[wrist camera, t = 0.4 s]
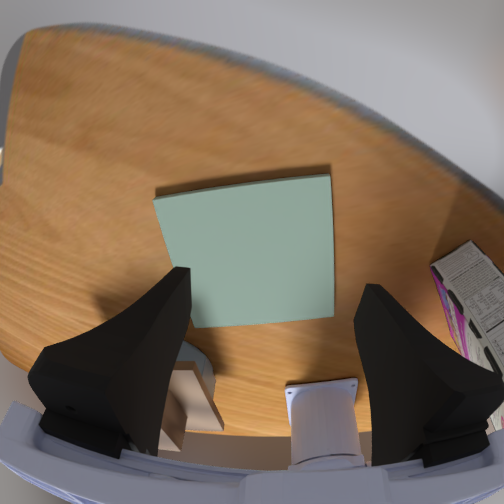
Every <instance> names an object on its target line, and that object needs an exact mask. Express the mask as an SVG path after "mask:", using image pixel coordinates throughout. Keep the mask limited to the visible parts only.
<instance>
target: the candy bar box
mask: <svg viewBox="0 0 504 504" xmlns="http://www.w3.org/2000/svg"><path fill="white" fill-rule="evenodd" d="M430 269H431V272H432V275H433V278H434V280H435V283H436V286H437V289H438V292H439V296H440V299H441V302H442V305H443V308H444V312H445V315H446V319H447V322H448V326H449V330H450V334H451V337H452V338H453V340H454V342H455V344H456V346H457V347H458V349H459V351H460V353H461V355H462V356H463V357H465V358H466V359H468V360H470V361H472V362H474V363H475V364H477V365H479V366H481V367H483V368H486V369H488V370H490V371H492V372H495V373H497V374H499V375H501V377H502V379H503V382H504V274H503V273H502V271H501V270H500V269H499V268H498V267H497V266H496V265H495V264H494V263H493V261H492V260H491V259H490V258H489V257H488V256H487V255H486V254H485V253H484V252H483V251H482V250H481V249H480V248H479V247H478V246H477V245H476V244H475V243H474V242H473V241H472V240H469V241H467V242H466V243H464V244H462V245H460V246H459V247H458V248H456V249H455V250H453V251H452V252H450V253H449V254H447V255H446V256H444V257H442V258H440V259H439V260H437V261H436V262H434V263H432V264H431V265H430ZM490 419H491V421H492V424H493V426H494V429H495V431H497V430H500V429H503V428H504V402H503V403H502V404H501V405H500V407H499V408H498V409H497V410H496V411H495V412H494V413H493V414H492V415H491V416H490Z"/></svg>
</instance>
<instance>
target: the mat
mask: <svg viewBox="0 0 504 504" xmlns="http://www.w3.org/2000/svg"><path fill="white" fill-rule="evenodd" d="M153 204H154V207H155V211H156V214H157V217H158V221H159V224H160V227H161V231H162V234H163V237H164V240H165V243H166V246H167V250H168V253H169V256H170V259H171V262H172V265H173V268H174V267H176V266H179V267H188V268H191V294H192V310H191V314H190V316H191V319H192V322H193V324H194V327H195V328H207V327H224V326H239V325H253V324H265V323H277V322H287V321H298V320H307V319H316V318H325V317H333V316H334V243H333V216H332V196H331V180H330V175H329V173H328V174H318V175H307V176H298V177H289V178H280V179H271V180H263V181H255V182H248V183H240V184H233V185H226V186H219V187H213V188H206V189H200V190H194V191H188V192H182V193H176V194H170V195H164V196H159V197H155V198H154V199H153Z"/></svg>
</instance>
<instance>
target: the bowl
mask: <svg viewBox="0 0 504 504" xmlns="http://www.w3.org/2000/svg"><path fill="white" fill-rule="evenodd" d="M176 361H195V362H196V364H197V367H198V369H199V371H200V373H201V376H202V378H203V380H204V382H205V384H206V386H207V389H208V391H209V393H210V395H211V397H212V399H213V396H214V389H215V383H216V379H215V377H214V374H213V367H212V364H211V362H210V361H209V359H208V358H207V356H206V355H205V354H204V353H203V352H202V351H200V350H199V349H198V348H196V347H195V346H194V345H192V344H190V343H188V342H186V341H184V340H183V342H182V345H181V348H180V351H179V354H178V357H177V360H176Z"/></svg>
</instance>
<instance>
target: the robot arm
mask: <svg viewBox="0 0 504 504" xmlns="http://www.w3.org/2000/svg"><path fill="white" fill-rule="evenodd" d="M191 310H192V294H191V268H188V267H179V266H176V267H174V268H173V269H172V270H171V271H170V272H169V273H168V274H167V275H166V276H164V277H163V278H162V279H161V280H160V281H159V282H158V283H157V284H156V285H155V286H154V287H153V288H151V289H150V290H149V291H148V292H147V293H146V294H145V295H143V296H142V297H141V298H140V299H138V300H137V301H136V302H135V303H133V304H132V305H131V306H130V307H128V308H127V309H125V310H124V311H123V312H121V313H120V314H118V315H116V316H115V317H113V318H112V319H110V320H108V321H106V322H105V323H103V324H101V325H99V326H97V327H95V328H94V329H92V330H90V331H87V332H85V333H83V334H81V335H78V336H76V337H74V338H71V339H68V340H66V341H63V342H59V343H56V344H53V345H50V346H47V347H44V349H43V350H42V352H41V353H40V355H39V356H38V358H37V360H36V361H35V363H34V365H33V367H32V368H31V370H30V372H29V374H28V381H29V384H30V386H31V388H32V390H33V391H34V392H35V394H36V395H37V396H38V398H39V399H40V401H41V402H42V403H43V405H44V406H45V407H46V410H45V412H44V414H43V415H42V414H41V413H39V412H38V411H36V410H35V409H32V408H30V407H28V406H26V405H24V404H22V403H19V402H17V401H13V402H12V404H11V405H10V407H9V409H8V411H7V413H6V415H5V417H4V419H3V421H2V423H1V425H0V462H1V463H3V464H4V465H5V466H6V467H8V468H9V469H10V470H12V471H13V472H14V473H16V474H17V475H19V476H20V477H21V478H23V479H25V480H26V481H28V482H30V483H32V484H34V485H36V486H38V487H40V488H41V489H43V490H46V491H48V492H50V493H52V494H54V495H56V496H58V497H60V498H62V499H64V500H66V501H69V502H71V503H73V504H474V503H476V502H478V501H481V500H483V499H485V498H487V497H489V496H491V495H493V494H494V493H496V492H498V491H499V490H501V489H502V488H504V428H503V429H500V430H497V431H495V432H493V433H491V434H489V435H487V434H486V431H485V430H486V429H487V428H488V426H489V425H488V422H487V419H488V418H489V417H490V416H491V415H492V414H493V413H494V412H495V411H496V410H497V409H498V408H499V407H500V405H501V404H502V403H503V402H504V382H503V379H502V377H501V375H499V374H497V373H495V372H492V371H490V370H488V369H486V368H483V367H481V366H479V365H477V364H475V363H474V362H472V361H470V360H468V359H466V358H465V357H463V356H461V355H460V354H458V353H457V352H455V351H454V350H452V349H451V348H449V347H448V346H446V345H445V344H444V343H442V342H441V341H440V340H438V339H437V338H436V337H435V336H433V335H432V334H431V333H430V332H429V331H427V330H426V329H425V328H424V327H423V326H422V325H421V324H420V323H419V322H417V321H416V320H415V319H414V318H413V317H412V316H411V315H410V314H409V313H408V312H407V311H406V310H405V309H404V308H403V307H402V306H401V305H400V304H399V303H398V302H397V301H396V300H395V299H394V298H393V297H392V296H391V295H390V294H389V293H388V292H387V291H386V290H385V289H384V288H383V287H382V286H381V285H380V284H366V286H365V289H364V292H363V295H362V298H361V301H360V304H359V306H358V309H357V312H356V315H355V317H354V329H355V337H356V343H357V346H358V350H359V354H360V358H361V362H362V366H363V369H364V373H365V377H366V381H367V386H368V391H369V400H370V409H371V424H372V461H368V462H364V455H361V449H360V442H359V436H358V429H357V423H356V417H355V411H354V402H355V397H356V392H357V386H358V379H357V378H349V379H342V380H335V381H327V382H318V383H309V384H298V385H288V386H286V387H285V395H286V402H287V409H288V416H289V423H290V426H291V443H292V465H291V466H288V470H279V471H261V470H244V469H233V468H223V467H214V466H207V465H200V464H192V463H186V462H181V461H175V460H170V459H165V458H160V457H157V454H158V446H159V438H160V432H161V425H162V419H163V413H164V408H165V402H166V397H167V392H168V387H169V383H170V378H171V375H172V371H173V368H174V365H175V362H176V360H177V357H178V354H179V351H180V348H181V345H182V342H183V340H184V337H185V334H186V331H187V328H188V324H189V319H190V314H191Z"/></svg>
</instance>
